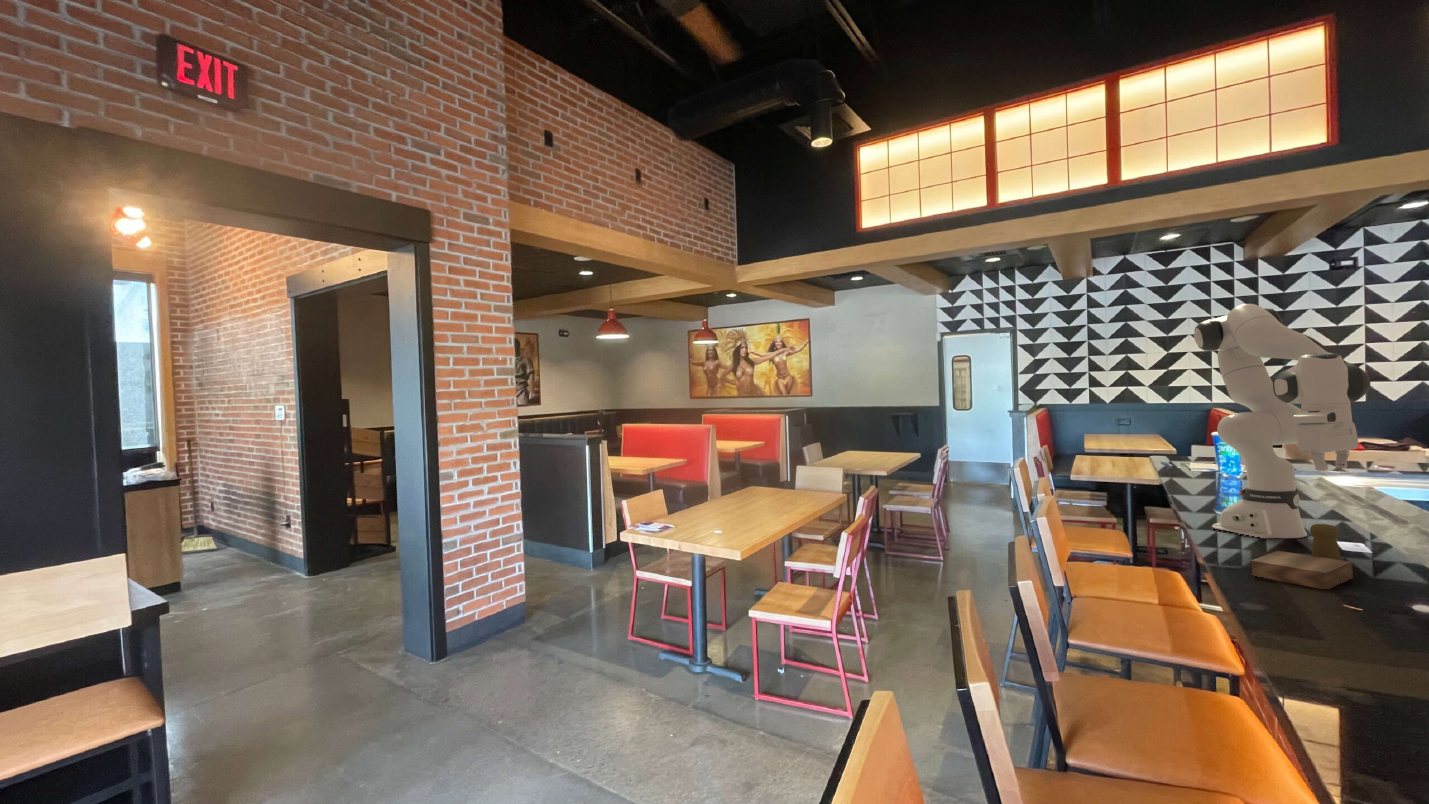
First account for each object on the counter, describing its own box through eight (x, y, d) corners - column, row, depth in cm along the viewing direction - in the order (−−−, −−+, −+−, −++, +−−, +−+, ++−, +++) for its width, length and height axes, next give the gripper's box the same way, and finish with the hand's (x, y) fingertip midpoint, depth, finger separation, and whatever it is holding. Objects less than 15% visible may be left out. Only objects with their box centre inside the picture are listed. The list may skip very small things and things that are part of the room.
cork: (1328, 562, 156) (1325, 521, 156) (1351, 569, 150) (1347, 526, 150) (1304, 563, 156) (1300, 522, 156) (1325, 570, 150) (1321, 527, 150)
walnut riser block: (1252, 575, 150) (1251, 560, 150) (1279, 565, 156) (1277, 550, 156) (1326, 589, 138) (1325, 572, 138) (1353, 578, 144) (1351, 561, 144)
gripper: (1331, 414, 157) (1336, 465, 157) (1288, 417, 150) (1293, 471, 149) (1364, 413, 152) (1369, 466, 151) (1321, 416, 144) (1327, 472, 143)
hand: (1331, 469), depth 150 cm, fingers open, 8 cm apart
